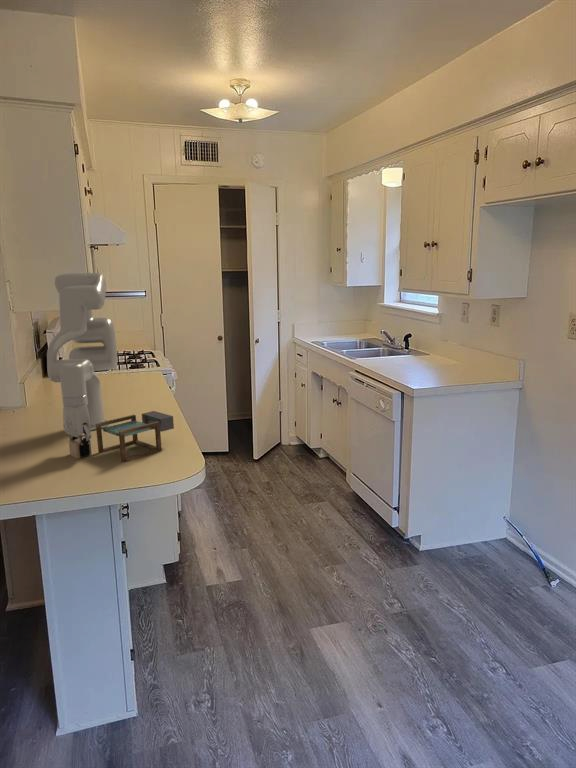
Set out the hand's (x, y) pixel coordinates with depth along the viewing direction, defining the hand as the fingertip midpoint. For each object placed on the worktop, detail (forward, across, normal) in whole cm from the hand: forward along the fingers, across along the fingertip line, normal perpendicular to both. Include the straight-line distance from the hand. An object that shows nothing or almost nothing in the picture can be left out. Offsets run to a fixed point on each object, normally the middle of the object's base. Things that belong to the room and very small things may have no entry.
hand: (80, 453), depth 184 cm
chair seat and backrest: (-5, +10, +17) cm, 20 cm away
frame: (+1, +10, +13) cm, 16 cm away
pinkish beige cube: (+1, 0, 0) cm, 1 cm away
